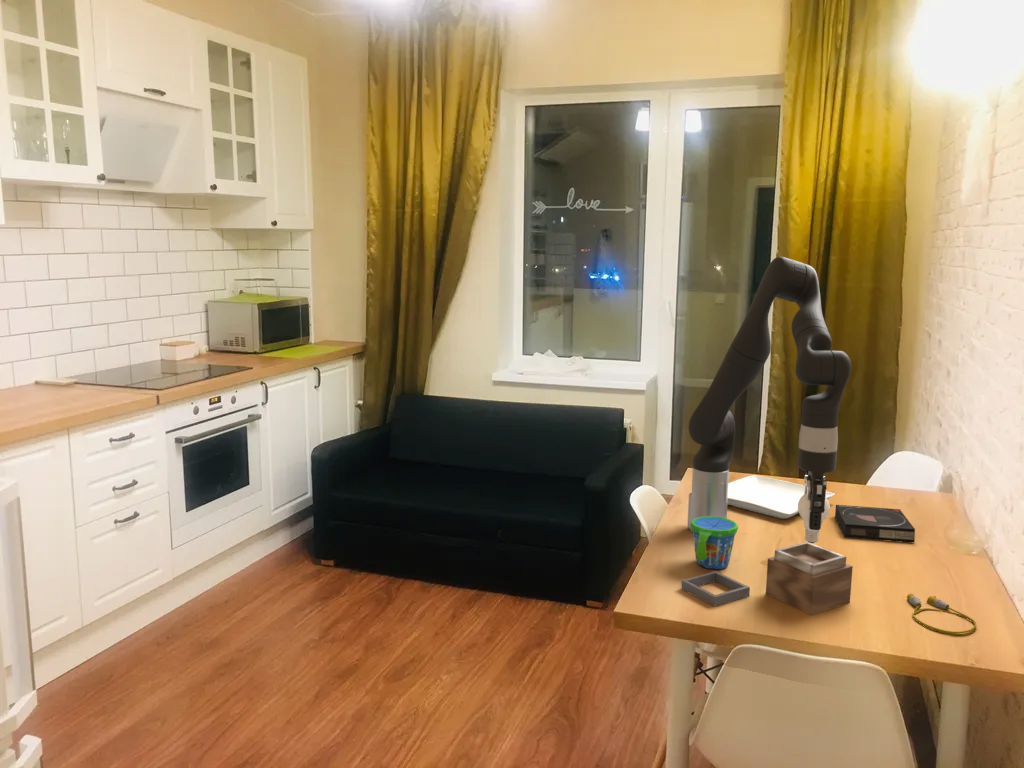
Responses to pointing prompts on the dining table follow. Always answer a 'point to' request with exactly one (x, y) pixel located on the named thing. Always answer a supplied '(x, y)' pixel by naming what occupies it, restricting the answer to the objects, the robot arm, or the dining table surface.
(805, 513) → the lightbulb
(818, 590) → the walnut stand
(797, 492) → the square plate
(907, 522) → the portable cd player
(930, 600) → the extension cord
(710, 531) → the snack cup
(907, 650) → the dining table surface
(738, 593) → the frame
